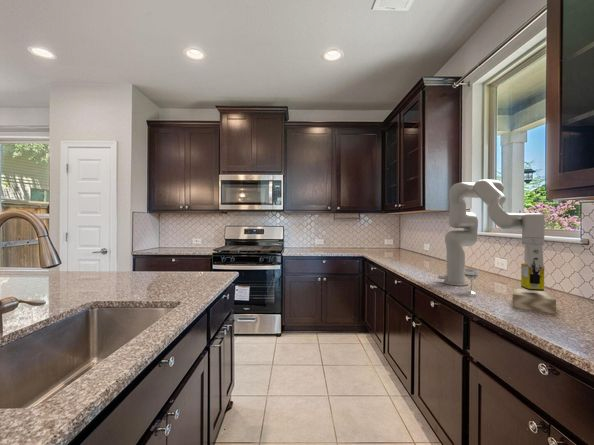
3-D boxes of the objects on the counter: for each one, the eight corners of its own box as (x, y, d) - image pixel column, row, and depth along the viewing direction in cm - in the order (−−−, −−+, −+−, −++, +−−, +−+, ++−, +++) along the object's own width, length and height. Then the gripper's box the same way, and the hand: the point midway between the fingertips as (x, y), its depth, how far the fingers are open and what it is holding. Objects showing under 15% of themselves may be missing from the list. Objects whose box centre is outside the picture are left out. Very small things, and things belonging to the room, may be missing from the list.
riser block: (512, 308, 124) (512, 294, 124) (512, 300, 135) (512, 288, 135) (555, 314, 115) (556, 299, 115) (552, 306, 126) (552, 292, 126)
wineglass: (482, 293, 146) (482, 270, 146) (472, 294, 144) (472, 271, 144) (470, 290, 153) (470, 268, 153) (460, 291, 151) (461, 268, 151)
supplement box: (544, 291, 122) (544, 265, 121) (528, 290, 123) (528, 265, 123) (536, 288, 127) (536, 263, 127) (520, 287, 129) (521, 263, 129)
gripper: (550, 243, 115) (549, 287, 116) (538, 240, 131) (538, 279, 131) (526, 242, 119) (526, 285, 119) (518, 239, 134) (517, 277, 135)
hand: (532, 281), depth 125 cm, fingers closed on supplement box, 7 cm apart
